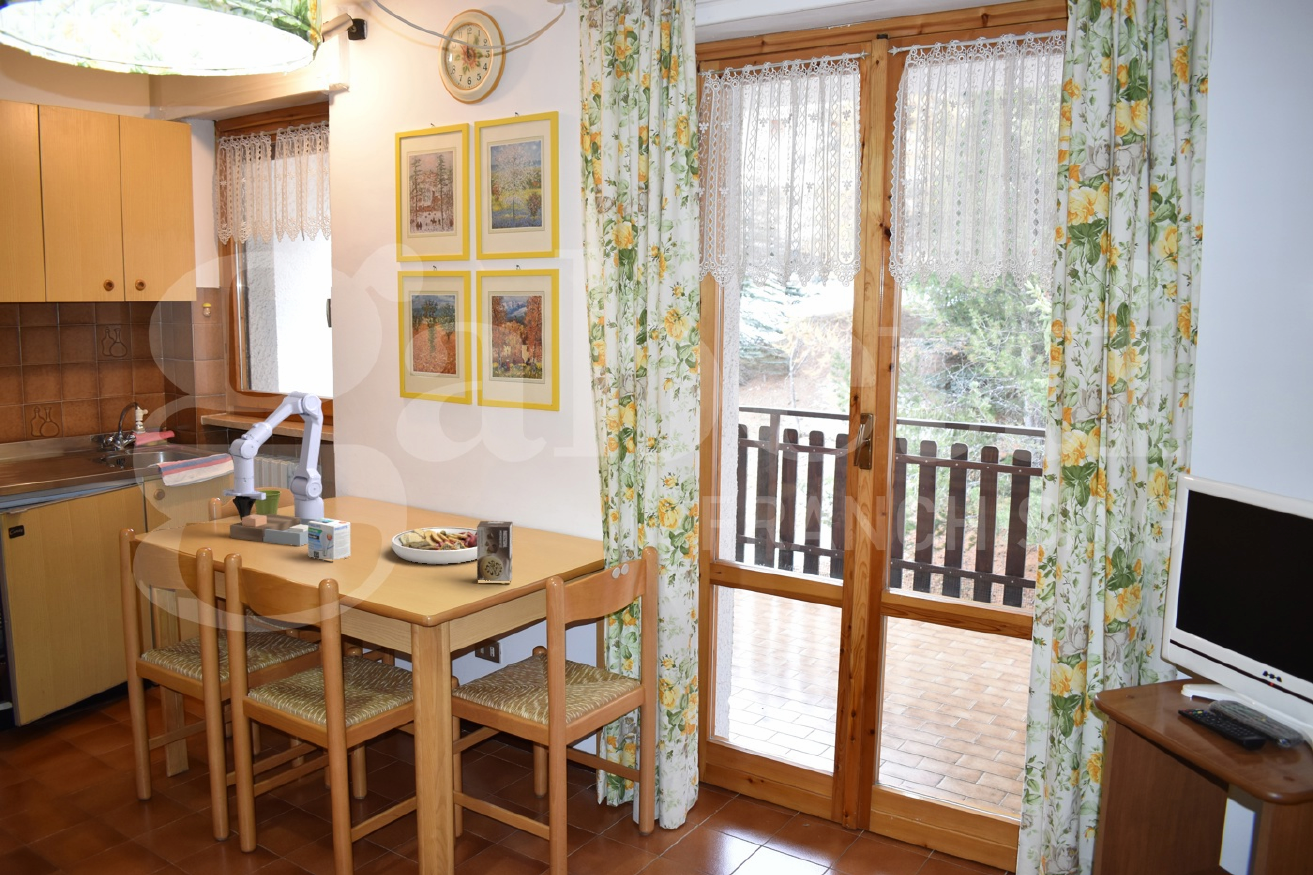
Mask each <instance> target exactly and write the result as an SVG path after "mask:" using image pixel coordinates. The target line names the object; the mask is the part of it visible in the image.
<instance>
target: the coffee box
mask: <svg viewBox="0 0 1313 875" xmlns="http://www.w3.org/2000/svg"><path fill="white" fill-rule="evenodd" d="M513 523H514V522H513V521H505V520H504V521H501V520H500V521H498V520H496V521H494V520H493V521H492V520H491V521H490V520H480V521H479V523H478V525H477V526H476V529H477V562H476V564H477V565H476V581H477V580H485V581H486V580H487V581H489V580H490V581H510V580H511V578H512V579H513V530H514V529H513ZM511 581H512V580H511Z"/></svg>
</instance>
